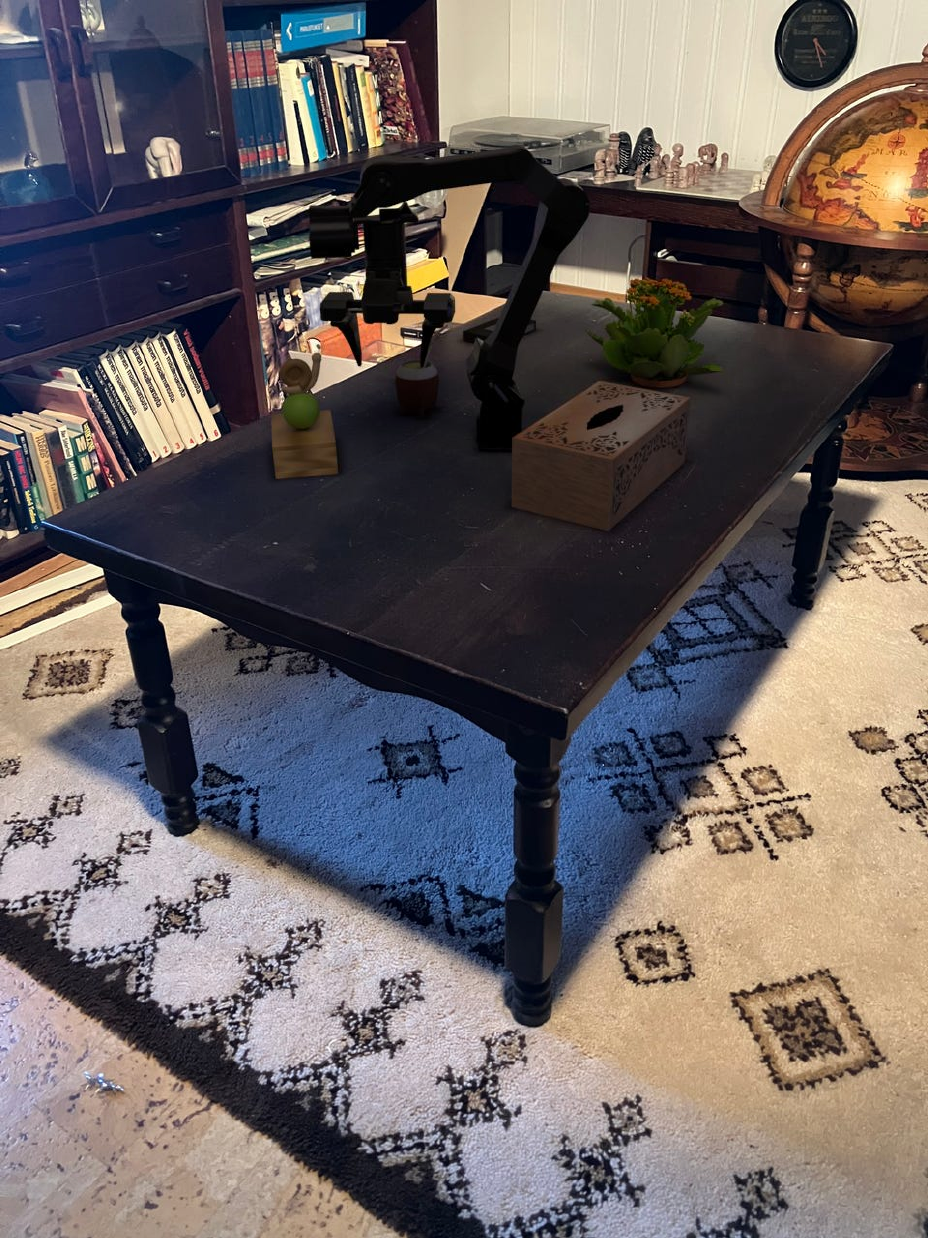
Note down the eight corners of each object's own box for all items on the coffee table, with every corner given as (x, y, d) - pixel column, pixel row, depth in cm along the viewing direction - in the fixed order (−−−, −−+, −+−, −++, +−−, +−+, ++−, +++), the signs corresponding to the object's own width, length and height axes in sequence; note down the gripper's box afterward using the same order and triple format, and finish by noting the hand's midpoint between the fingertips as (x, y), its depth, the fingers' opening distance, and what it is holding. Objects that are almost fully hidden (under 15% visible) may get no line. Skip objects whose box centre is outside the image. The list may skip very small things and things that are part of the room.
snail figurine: (331, 430, 154) (324, 349, 147) (288, 436, 152) (279, 355, 146) (323, 417, 158) (316, 339, 152) (281, 423, 156) (272, 344, 150)
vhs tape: (536, 330, 212) (536, 320, 210) (493, 347, 202) (493, 337, 201) (506, 324, 216) (506, 314, 215) (462, 341, 206) (462, 330, 205)
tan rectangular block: (332, 440, 164) (330, 409, 161) (338, 474, 153) (335, 441, 150) (274, 444, 162) (271, 414, 160) (275, 479, 151) (272, 446, 149)
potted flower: (759, 386, 181) (773, 283, 172) (657, 416, 170) (667, 307, 161) (658, 351, 199) (666, 255, 190) (561, 375, 188) (564, 275, 179)
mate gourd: (392, 407, 176) (387, 317, 168) (437, 401, 178) (434, 312, 170) (404, 422, 170) (399, 330, 162) (450, 416, 172) (448, 325, 164)
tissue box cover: (608, 531, 136) (612, 459, 131) (511, 506, 143) (512, 437, 137) (684, 462, 154) (691, 397, 149) (595, 443, 161) (599, 380, 156)
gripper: (306, 269, 139) (316, 383, 147) (446, 270, 138) (449, 385, 146) (323, 250, 149) (332, 358, 157) (454, 251, 147) (456, 360, 155)
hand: (391, 366), depth 153 cm, fingers open, 9 cm apart
